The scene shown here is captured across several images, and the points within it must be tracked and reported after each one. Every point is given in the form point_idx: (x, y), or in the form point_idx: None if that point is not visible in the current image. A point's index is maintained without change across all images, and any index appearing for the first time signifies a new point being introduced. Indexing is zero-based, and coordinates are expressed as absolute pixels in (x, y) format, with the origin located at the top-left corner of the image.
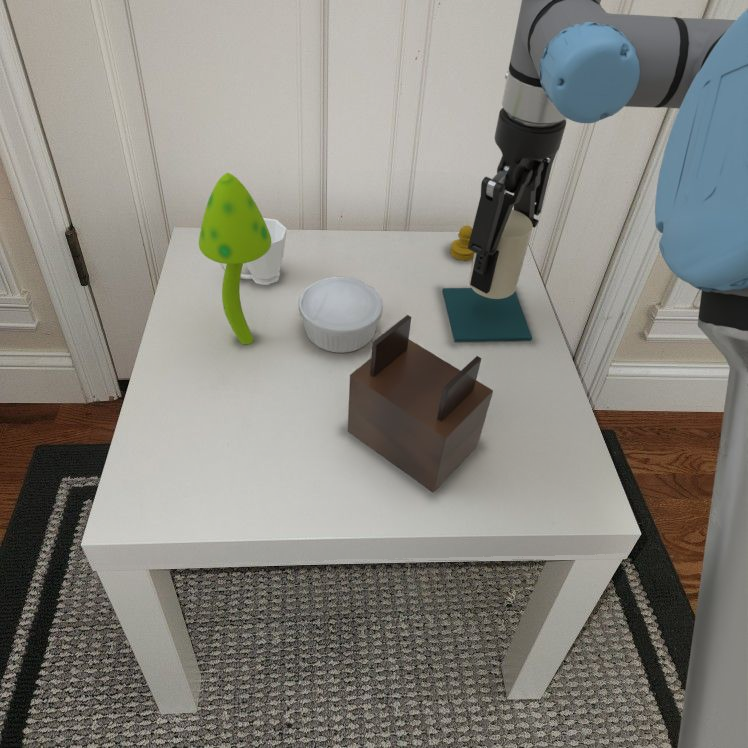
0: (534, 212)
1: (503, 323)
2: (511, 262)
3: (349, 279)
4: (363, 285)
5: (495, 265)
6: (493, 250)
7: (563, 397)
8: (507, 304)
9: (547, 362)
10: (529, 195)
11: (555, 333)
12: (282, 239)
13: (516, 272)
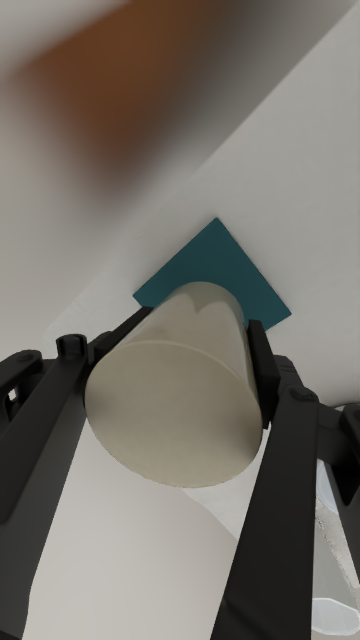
0: (39, 365)
1: (214, 271)
2: (228, 321)
3: (320, 491)
4: (322, 473)
5: (258, 349)
6: (308, 397)
7: (323, 85)
8: (171, 286)
9: (249, 166)
10: (30, 483)
11: (175, 193)
12: (329, 598)
13: (206, 297)
